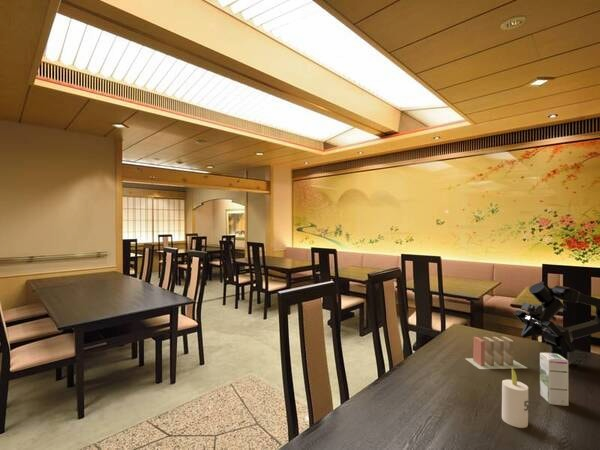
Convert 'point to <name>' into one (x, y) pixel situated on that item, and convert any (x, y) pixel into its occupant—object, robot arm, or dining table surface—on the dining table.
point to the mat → (496, 365)
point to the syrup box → (554, 378)
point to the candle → (515, 402)
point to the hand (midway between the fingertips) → (522, 336)
